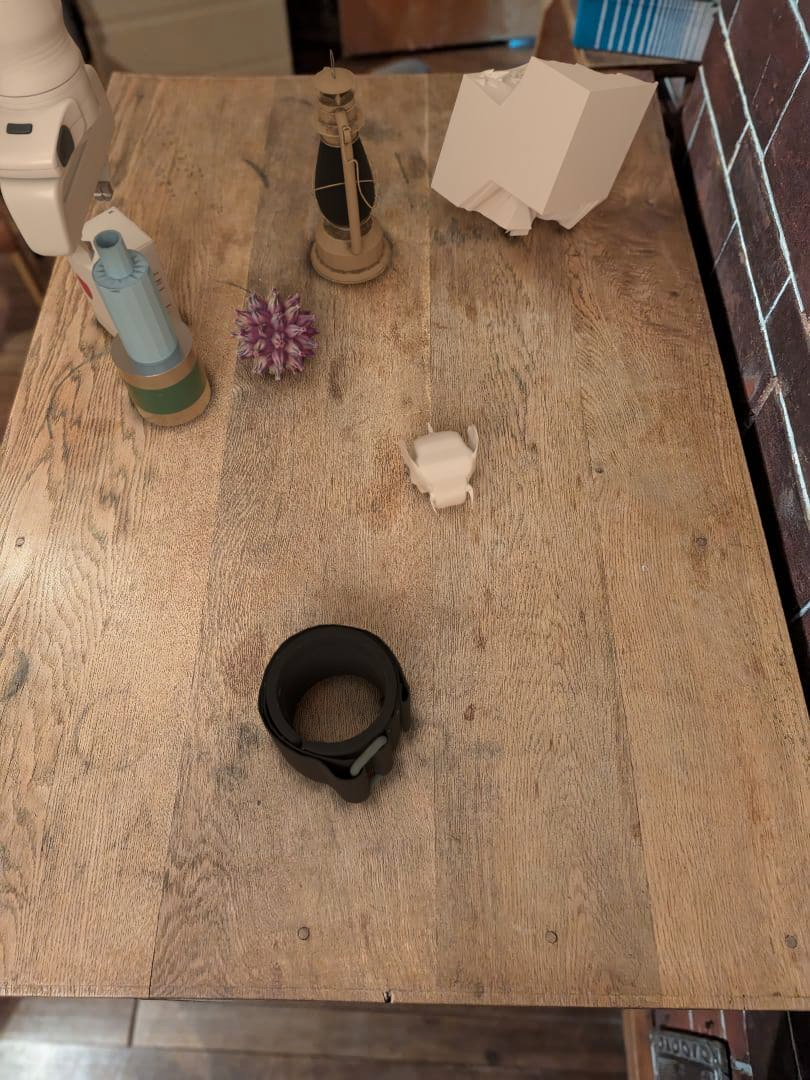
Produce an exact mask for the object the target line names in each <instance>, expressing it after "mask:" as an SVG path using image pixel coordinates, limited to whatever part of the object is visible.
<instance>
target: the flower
mask: <svg viewBox="0 0 810 1080" xmlns="http://www.w3.org/2000/svg"><path fill="white" fill-rule="evenodd" d="M269 289H270V290H269V294H268V295H267V297H266V298H265V299H266V300H264V299H263V298H261V297H260V296H258V295H257V294H256V292H254V291H253V292H252V293H250V294H249V295H247V297H245V301H246V302H247V307H248V310H239V309H237V308H234V309H233V310H234V312H233V314H234V315H236V316H237V317H238V318H235V317H234V318H233V320H232V324H233V325H234V326H236V327H237V328H238V329H237V330H235V331H233V332H229V335H228V336H229V338H231V339H236V340H238V341H240V344H239V346H238V347H237V348H235V349H234V352H235V354H236V355H237V359H238V361H243V360H247V359H248V360H250V359H253V365H252V366H253V367H252V369H251V372H252V373H253V375H255V374H256V373H257V375H259V376H262V375H263V374H264V372H265V371H266V370H269V371H268V373H269V374H270V375H274V378H275V381H276V382H278V381H282V376H283V372H284V371H285V369H288V370H289V371H291V373H292V374H293V375H297V374H299V372H303V371H305V370H306V366H305V364H304V359H303V358H304V357H309V358H311V359H314V358H315V357H316V352H314V351H312V349H318V348H319V346H320V344H319V342H317V341H315V340H313V339H312V338H313V337H314V336H317V335H321V328H317V327H316V328H315V327H313V326H312V324H313V323H314V322H315V321H317V320H318V318H317V315H316V314H312V309H311V308H310V307H309V308H307V309H305V310H301V308H302V304H301V303H300V301H301V299H302V294H300V293H299V292H297V293H295V295H294V296H293V295H291V294H289V295H288V296H287V298H286V299H285V300H283V299H282V298H281V296H280V291H278V290H277V287H276V286H270V288H269ZM310 314H312V315H310ZM298 370H299V371H298Z"/></svg>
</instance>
